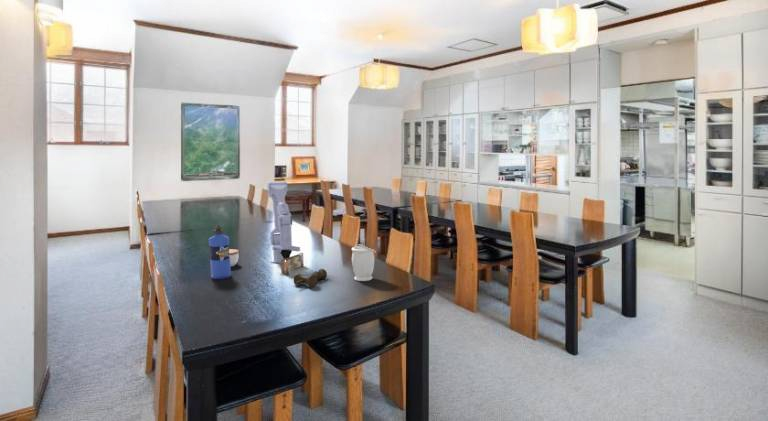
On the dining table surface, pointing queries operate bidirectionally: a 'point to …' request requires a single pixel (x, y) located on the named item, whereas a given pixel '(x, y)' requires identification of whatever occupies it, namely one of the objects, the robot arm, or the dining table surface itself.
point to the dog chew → (310, 278)
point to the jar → (362, 263)
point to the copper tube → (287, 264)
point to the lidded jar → (233, 256)
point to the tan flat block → (291, 262)
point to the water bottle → (219, 254)
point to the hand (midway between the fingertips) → (286, 264)
